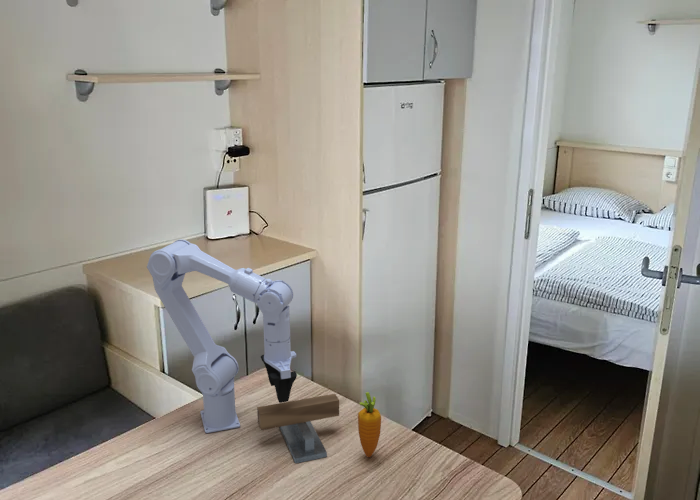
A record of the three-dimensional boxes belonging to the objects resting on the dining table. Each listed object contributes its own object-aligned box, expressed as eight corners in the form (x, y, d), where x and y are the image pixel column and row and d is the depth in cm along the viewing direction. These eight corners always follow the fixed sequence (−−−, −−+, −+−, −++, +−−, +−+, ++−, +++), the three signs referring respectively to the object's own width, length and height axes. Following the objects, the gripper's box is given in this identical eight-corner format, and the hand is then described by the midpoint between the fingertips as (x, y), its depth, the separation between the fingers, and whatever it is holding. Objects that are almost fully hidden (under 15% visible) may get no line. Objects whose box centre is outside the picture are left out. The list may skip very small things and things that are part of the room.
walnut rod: (257, 423, 140) (257, 407, 139) (335, 408, 146) (335, 393, 145) (260, 430, 138) (259, 414, 136) (339, 415, 143) (339, 400, 142)
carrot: (378, 465, 134) (379, 402, 129) (355, 462, 135) (355, 400, 130) (381, 451, 138) (383, 390, 134) (359, 448, 139) (360, 388, 135)
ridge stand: (275, 418, 150) (275, 401, 149) (304, 413, 153) (303, 396, 151) (295, 463, 134) (294, 444, 133) (326, 456, 136) (326, 438, 135)
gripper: (304, 348, 132) (305, 405, 136) (286, 321, 145) (288, 375, 149) (270, 353, 130) (273, 411, 134) (256, 326, 143) (259, 380, 147)
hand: (279, 392), depth 142 cm, fingers open, 7 cm apart
